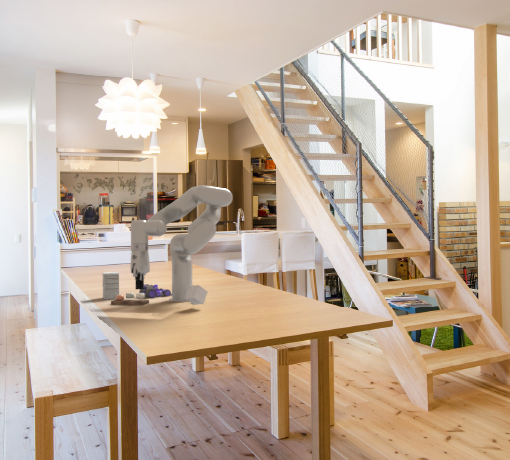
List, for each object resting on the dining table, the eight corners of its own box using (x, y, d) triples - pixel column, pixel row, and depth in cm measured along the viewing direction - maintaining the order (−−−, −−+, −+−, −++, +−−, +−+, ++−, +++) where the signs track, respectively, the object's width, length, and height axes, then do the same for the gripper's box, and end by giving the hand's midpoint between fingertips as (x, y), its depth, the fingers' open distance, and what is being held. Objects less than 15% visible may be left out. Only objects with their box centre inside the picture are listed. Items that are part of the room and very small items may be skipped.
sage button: (135, 297, 215) (135, 292, 215) (131, 298, 212) (131, 293, 212) (128, 297, 216) (128, 292, 216) (124, 298, 213) (124, 293, 213)
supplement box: (102, 298, 235) (102, 272, 236) (118, 297, 238) (117, 271, 238) (103, 299, 229) (103, 273, 229) (119, 298, 231) (119, 272, 231)
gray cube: (184, 298, 207) (189, 286, 210) (193, 304, 210) (198, 292, 213) (194, 297, 203) (198, 285, 206) (203, 303, 207) (207, 291, 210)
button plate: (149, 303, 215) (149, 299, 215) (143, 305, 209) (143, 301, 209) (117, 302, 219) (117, 299, 219) (110, 304, 213) (110, 301, 213)
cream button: (145, 297, 214) (145, 293, 214) (142, 298, 211) (142, 294, 211) (138, 297, 215) (138, 293, 215) (134, 298, 212) (134, 294, 212)
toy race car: (175, 296, 240) (175, 283, 240) (147, 299, 231) (147, 285, 231) (165, 294, 248) (165, 282, 248) (139, 297, 238) (138, 284, 238)
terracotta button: (125, 299, 217) (125, 294, 217) (121, 300, 213) (121, 295, 213) (118, 299, 217) (118, 294, 217) (114, 300, 214) (114, 295, 214)
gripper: (139, 248, 205) (139, 291, 205) (154, 247, 219) (154, 287, 219) (123, 248, 207) (123, 290, 206) (139, 247, 221) (139, 287, 221)
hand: (139, 289), depth 213 cm, fingers closed
